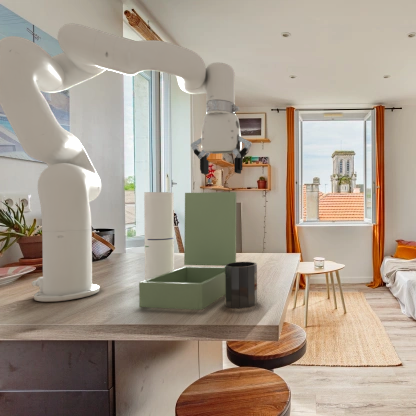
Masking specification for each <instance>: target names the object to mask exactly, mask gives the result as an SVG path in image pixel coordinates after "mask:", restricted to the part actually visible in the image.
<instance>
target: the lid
mask: <svg viewBox="0 0 416 416" xmlns="http://www.w3.org/2000/svg"><path fill="white" fill-rule="evenodd" d="M183 243H184V245H183V246H184V247H183V248H184V249H183V250H184V251H183V252H184V253H183V255H184V257H183V260H184V261H183V265H184V266H211V267H225V265H226V264H228V263H233V262H237V192H236V191H224V192H223V191H220V192H219V191H217V192H213V191H212V192H211V191H210V192H209V191H208V192H185V193H184V242H183Z"/></svg>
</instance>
